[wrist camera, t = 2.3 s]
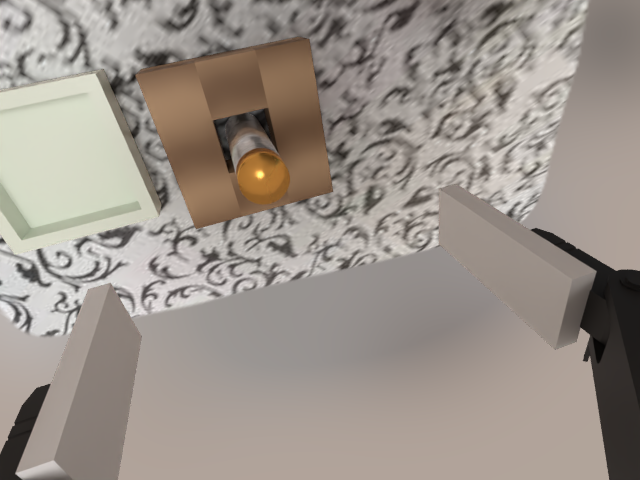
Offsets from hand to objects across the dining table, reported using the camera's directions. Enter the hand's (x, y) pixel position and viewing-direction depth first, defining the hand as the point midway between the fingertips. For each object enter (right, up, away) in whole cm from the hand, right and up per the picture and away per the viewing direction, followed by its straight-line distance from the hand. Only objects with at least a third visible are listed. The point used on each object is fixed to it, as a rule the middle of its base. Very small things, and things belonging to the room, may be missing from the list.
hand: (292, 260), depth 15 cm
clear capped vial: (-5, +10, +17) cm, 20 cm away
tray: (-19, +7, +14) cm, 25 cm away
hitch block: (-5, +10, +17) cm, 20 cm away
